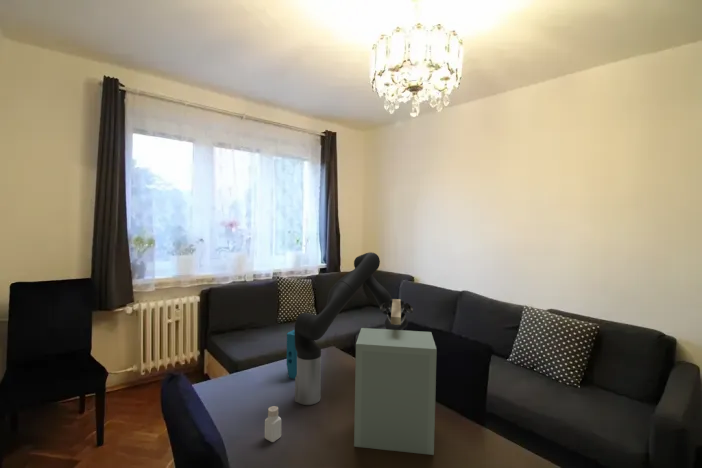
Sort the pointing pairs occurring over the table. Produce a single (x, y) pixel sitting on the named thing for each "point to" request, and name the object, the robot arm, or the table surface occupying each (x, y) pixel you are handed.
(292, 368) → the block
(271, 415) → the salt shaker
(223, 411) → the table surface
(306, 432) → the table surface
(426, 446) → the tall sage green box
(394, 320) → the slat
